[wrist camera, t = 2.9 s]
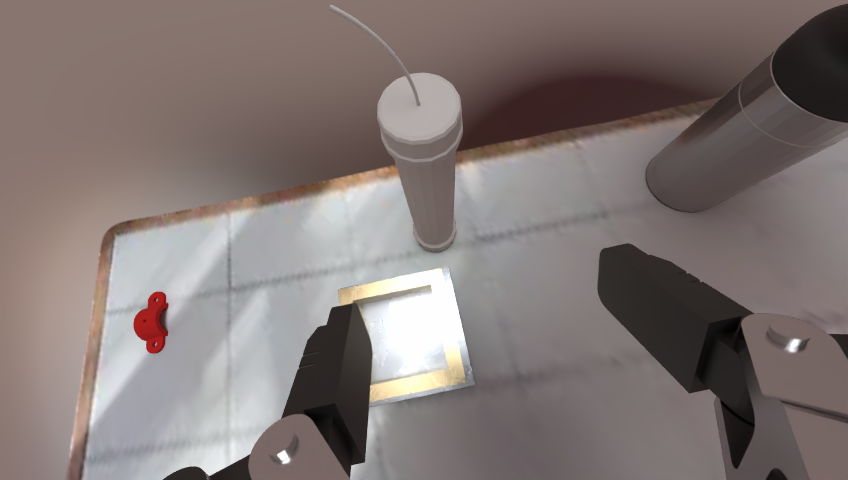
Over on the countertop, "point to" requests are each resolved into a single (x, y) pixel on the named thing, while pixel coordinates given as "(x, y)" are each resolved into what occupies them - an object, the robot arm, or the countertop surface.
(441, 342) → the socket
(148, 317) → the pipe clamp
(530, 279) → the countertop surface
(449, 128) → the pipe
